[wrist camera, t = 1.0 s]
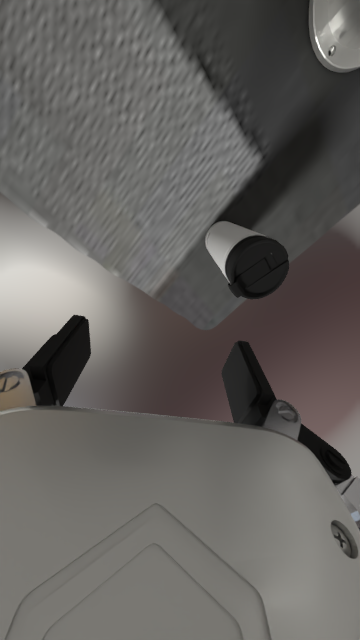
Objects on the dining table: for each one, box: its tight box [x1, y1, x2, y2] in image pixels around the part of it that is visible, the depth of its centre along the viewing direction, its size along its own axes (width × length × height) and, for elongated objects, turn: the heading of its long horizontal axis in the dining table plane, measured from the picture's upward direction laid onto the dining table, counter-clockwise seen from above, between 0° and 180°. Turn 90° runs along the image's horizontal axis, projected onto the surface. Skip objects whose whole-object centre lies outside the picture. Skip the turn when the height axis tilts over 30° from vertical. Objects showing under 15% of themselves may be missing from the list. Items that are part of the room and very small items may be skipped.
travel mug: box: [205, 221, 289, 299], centre depth 27 cm, size 6×7×20 cm
